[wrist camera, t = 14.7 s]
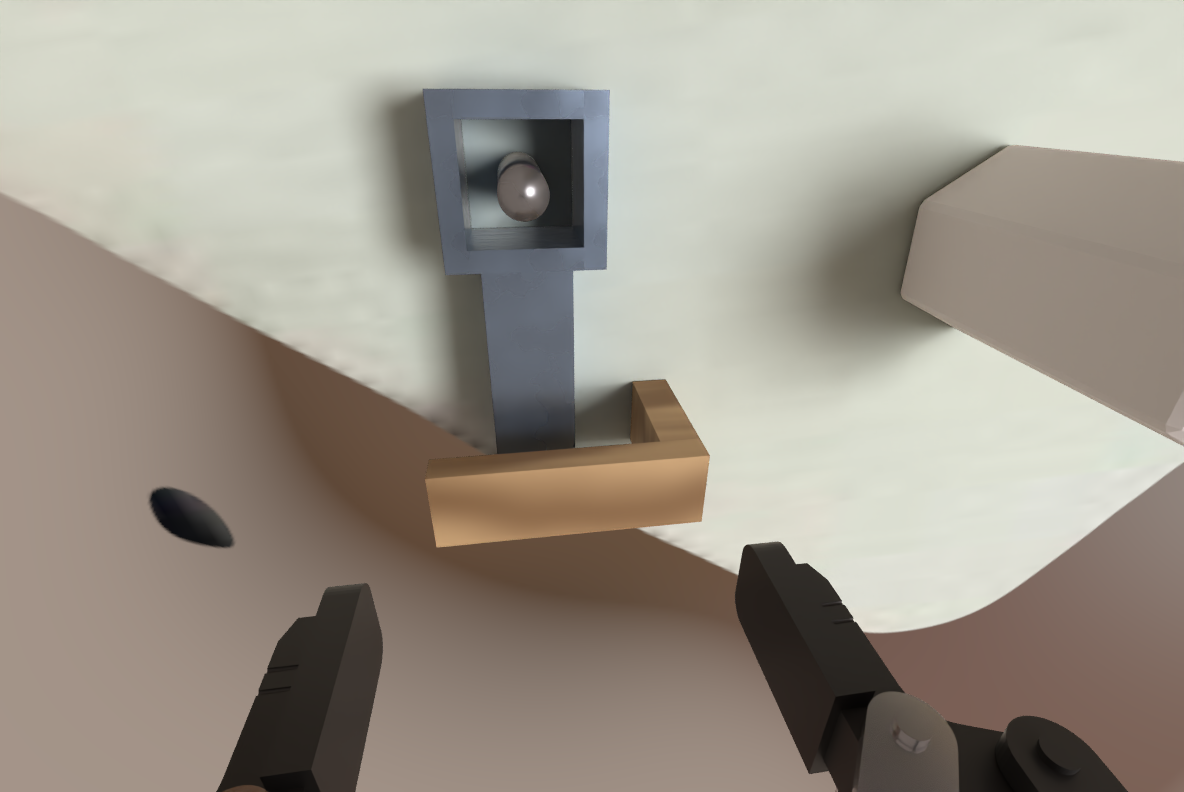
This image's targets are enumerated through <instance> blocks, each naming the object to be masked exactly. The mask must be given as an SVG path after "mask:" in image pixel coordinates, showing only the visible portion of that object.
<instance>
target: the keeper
mask: <svg viewBox="0 0 1184 792" xmlns="http://www.w3.org/2000/svg"><path fill="white" fill-rule="evenodd" d="M630 440H631V443H632V444H623V445H610V446H597V447H584V448H571V449H558V450H546V451H533V452H520V453H507V454H494V455H481V456H468V457H456V458H443V459H430V460H429V462H428V467H427V472H426V478H425V481H426V486H427V493H428V499H429V504H430V510H431V516H432V522H433V528H434V534H435V539H436V545H437V547H445V546H456V545H466V544H476V543H486V542H496V541H507V540H517V539H526V538H537V537H548V536H557V535H568V534H578V533H588V532H599V531H608V530H619V529H629V528H640V527H650V526H660V525H670V524H680V523H691V522H701V521H702V513H703V505H704V497H705V489H706V482H707V474H708V466H709V458H710V455H709V453H708V452H707V450H706V448H705V447H704V445H703V443H702V441H701V440H700V438H699V436H698V435H697V433H696V431H695V429H694V428H693V426H692V424H691V422H690V421H689V419H688V417H687V416H686V414H685V412H684V410H683V409H682V407H681V405H680V404H679V402H678V400H677V398H676V397H675V395H674V393H673V391H672V390H671V388H670V386H669V385H668V383H667V381H666V380H651V381H635V382H633V384H632V407H631V430H630Z"/></svg>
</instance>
